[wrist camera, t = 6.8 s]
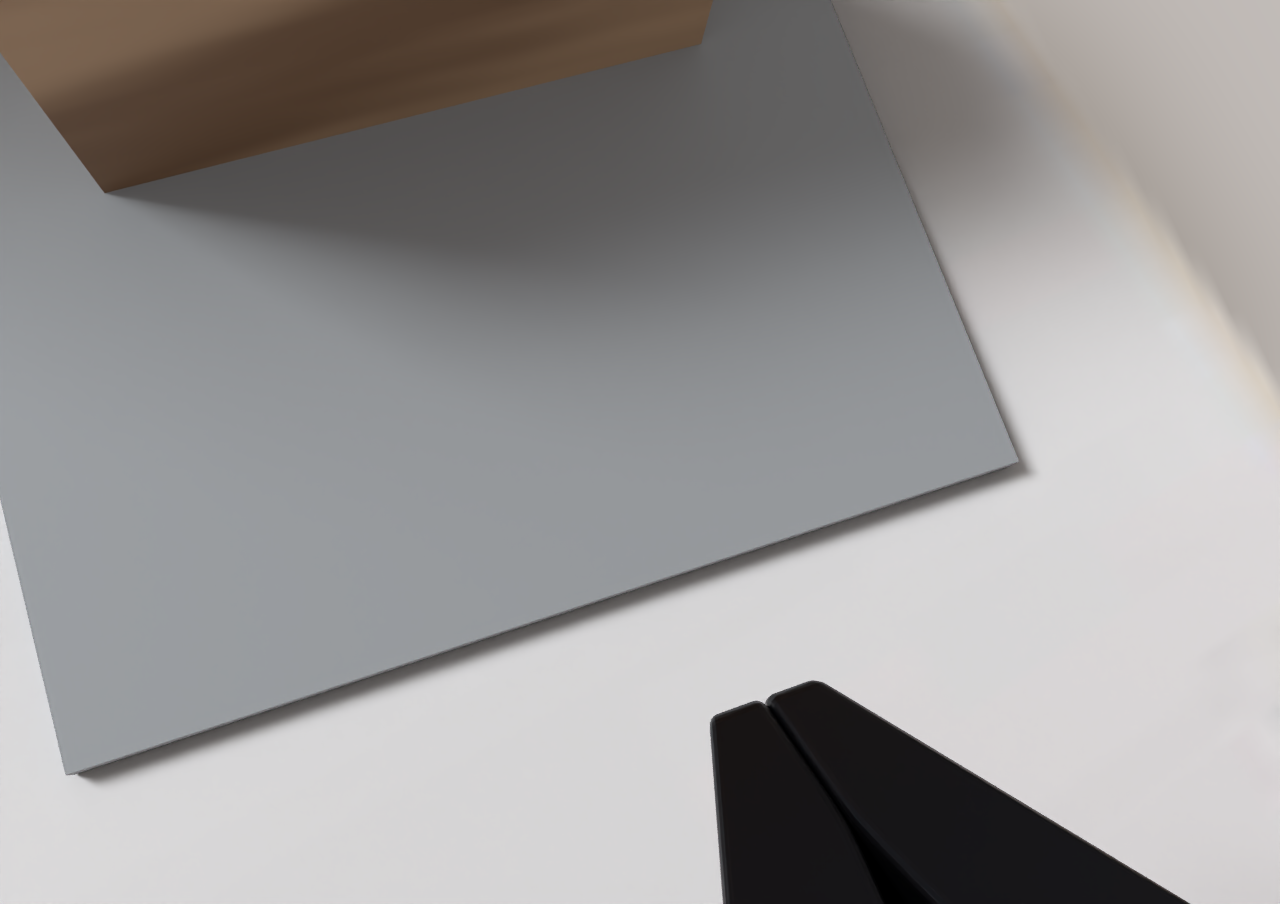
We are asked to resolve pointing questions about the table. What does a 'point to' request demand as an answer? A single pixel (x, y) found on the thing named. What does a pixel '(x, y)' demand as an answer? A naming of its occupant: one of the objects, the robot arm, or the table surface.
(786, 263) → the runner mat
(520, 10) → the t block
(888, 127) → the table surface
